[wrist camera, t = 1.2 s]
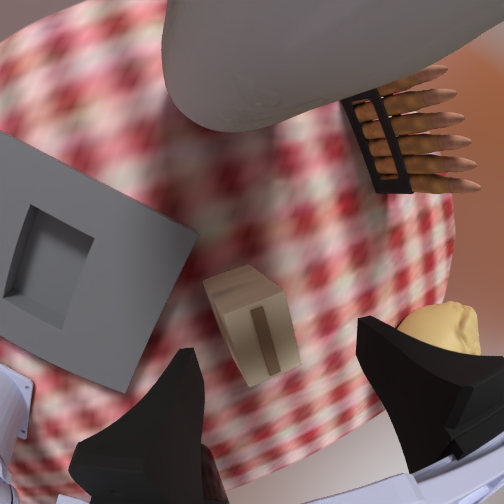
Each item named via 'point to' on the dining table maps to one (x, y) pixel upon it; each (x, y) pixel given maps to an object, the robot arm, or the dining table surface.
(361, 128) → the ammunition clip
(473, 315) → the sculpture
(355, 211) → the dining table surface
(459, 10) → the grey bottle
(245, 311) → the peg
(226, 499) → the supplement bottle
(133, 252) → the slot board
